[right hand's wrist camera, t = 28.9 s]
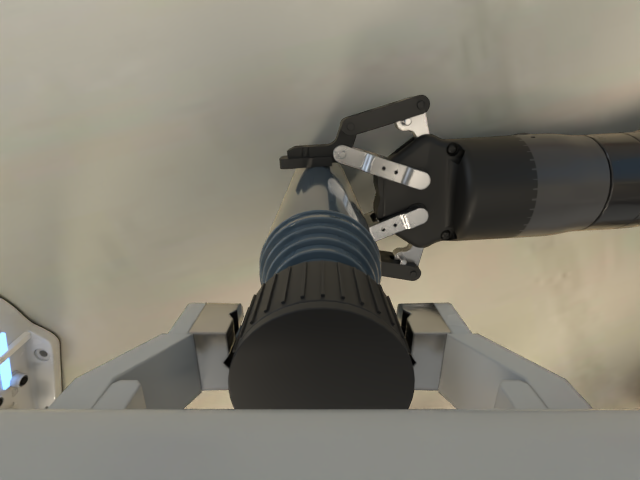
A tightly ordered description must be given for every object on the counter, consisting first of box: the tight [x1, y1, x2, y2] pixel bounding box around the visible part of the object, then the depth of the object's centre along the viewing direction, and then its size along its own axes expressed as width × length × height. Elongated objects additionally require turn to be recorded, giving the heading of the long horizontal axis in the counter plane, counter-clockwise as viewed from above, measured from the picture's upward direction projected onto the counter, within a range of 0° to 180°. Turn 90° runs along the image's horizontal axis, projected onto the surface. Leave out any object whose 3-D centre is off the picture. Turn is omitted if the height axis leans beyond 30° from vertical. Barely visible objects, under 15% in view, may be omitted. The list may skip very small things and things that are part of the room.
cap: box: [228, 260, 415, 409], centre depth 9 cm, size 4×4×2 cm
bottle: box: [260, 163, 381, 286], centre depth 20 cm, size 5×5×25 cm
